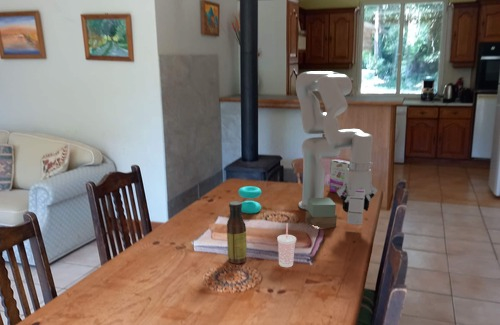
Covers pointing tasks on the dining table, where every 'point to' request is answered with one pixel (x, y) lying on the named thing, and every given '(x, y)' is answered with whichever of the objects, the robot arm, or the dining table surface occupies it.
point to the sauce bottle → (236, 234)
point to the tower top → (321, 207)
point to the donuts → (250, 193)
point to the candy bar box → (337, 174)
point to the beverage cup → (286, 249)
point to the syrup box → (356, 208)
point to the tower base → (320, 221)
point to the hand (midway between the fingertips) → (355, 210)
